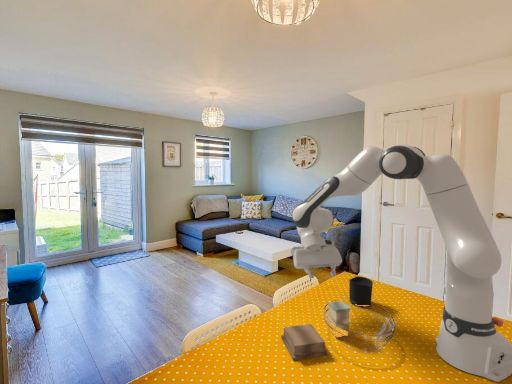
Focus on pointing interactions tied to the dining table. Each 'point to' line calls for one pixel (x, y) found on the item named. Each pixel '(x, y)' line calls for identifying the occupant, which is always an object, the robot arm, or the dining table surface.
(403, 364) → the dining table surface
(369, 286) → the pen holder
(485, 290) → the robot arm
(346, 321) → the grey rectangular block
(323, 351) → the plinth
